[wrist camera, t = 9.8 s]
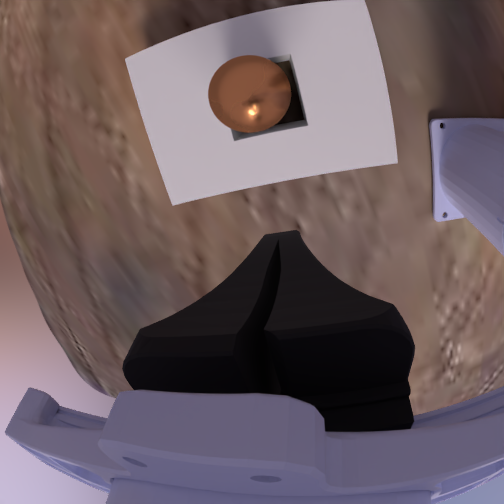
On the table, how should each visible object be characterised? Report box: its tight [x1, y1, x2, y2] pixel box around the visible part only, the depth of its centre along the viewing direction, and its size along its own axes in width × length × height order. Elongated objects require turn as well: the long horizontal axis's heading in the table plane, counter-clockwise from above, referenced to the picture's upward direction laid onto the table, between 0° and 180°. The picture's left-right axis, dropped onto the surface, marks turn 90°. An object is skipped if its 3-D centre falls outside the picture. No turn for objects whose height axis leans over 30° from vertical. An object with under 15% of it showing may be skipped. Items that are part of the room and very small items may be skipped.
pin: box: [208, 55, 291, 133], centre depth 13 cm, size 3×3×9 cm
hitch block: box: [125, 0, 398, 205], centre depth 16 cm, size 14×10×4 cm
